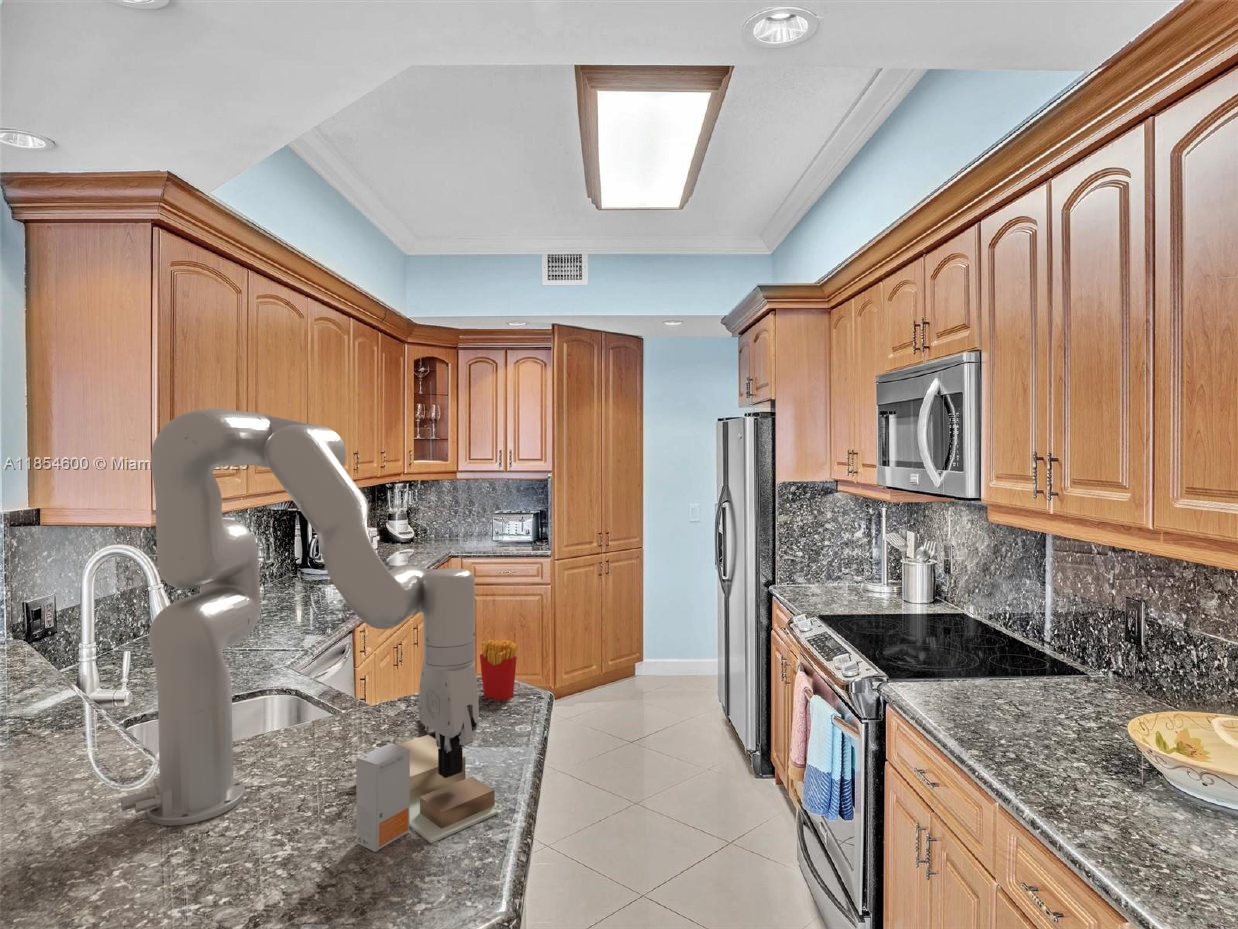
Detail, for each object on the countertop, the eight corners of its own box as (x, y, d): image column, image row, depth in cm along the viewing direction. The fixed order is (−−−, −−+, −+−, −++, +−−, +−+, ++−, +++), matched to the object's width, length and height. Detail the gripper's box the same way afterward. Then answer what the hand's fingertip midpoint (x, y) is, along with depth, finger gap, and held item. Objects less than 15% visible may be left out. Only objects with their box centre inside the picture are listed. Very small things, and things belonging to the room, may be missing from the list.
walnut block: (419, 797, 103) (419, 813, 103) (441, 812, 99) (441, 829, 99) (472, 776, 109) (472, 791, 109) (494, 790, 105) (494, 805, 105)
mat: (430, 843, 96) (430, 840, 96) (389, 810, 104) (389, 808, 104) (497, 813, 104) (497, 811, 104) (454, 785, 112) (454, 783, 112)
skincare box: (376, 854, 94) (375, 765, 93) (355, 844, 96) (354, 757, 95) (411, 832, 99) (410, 748, 98) (391, 823, 101) (390, 741, 101)
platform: (396, 808, 105) (395, 782, 105) (361, 780, 114) (360, 756, 114) (465, 781, 114) (465, 756, 113) (428, 757, 122) (427, 734, 122)
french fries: (477, 696, 151) (477, 641, 151) (487, 690, 155) (486, 636, 155) (512, 701, 148) (511, 645, 148) (521, 695, 152) (520, 640, 152)
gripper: (402, 647, 107) (403, 765, 108) (454, 669, 97) (455, 800, 97) (445, 637, 113) (446, 750, 113) (499, 658, 102) (500, 782, 103)
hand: (450, 773), depth 105 cm, fingers closed
